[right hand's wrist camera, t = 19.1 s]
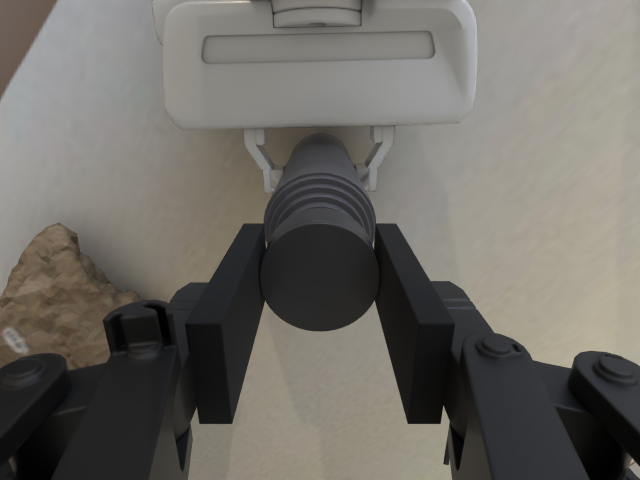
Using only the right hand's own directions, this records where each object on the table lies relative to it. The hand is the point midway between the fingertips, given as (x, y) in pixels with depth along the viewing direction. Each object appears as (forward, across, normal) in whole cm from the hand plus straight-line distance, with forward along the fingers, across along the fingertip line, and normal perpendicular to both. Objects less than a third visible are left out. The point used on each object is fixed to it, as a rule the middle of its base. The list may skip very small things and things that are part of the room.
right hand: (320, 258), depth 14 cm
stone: (+21, -22, -17) cm, 35 cm away
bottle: (+21, 0, 0) cm, 21 cm away
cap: (-2, 0, 0) cm, 2 cm away
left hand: (+15, 0, -1) cm, 15 cm away
